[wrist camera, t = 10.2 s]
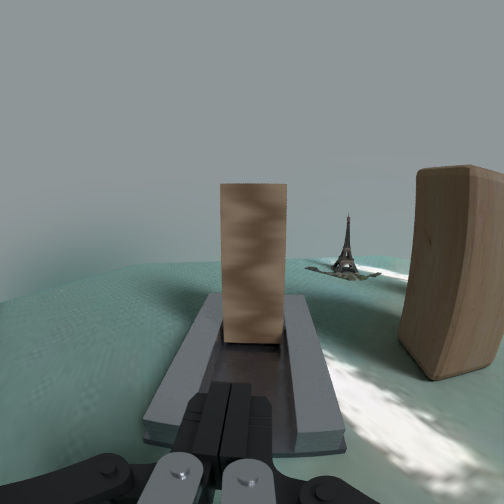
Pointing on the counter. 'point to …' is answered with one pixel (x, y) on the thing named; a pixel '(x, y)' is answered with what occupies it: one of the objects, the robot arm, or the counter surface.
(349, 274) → the eiffel tower figurine
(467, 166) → the wooden block
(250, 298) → the block
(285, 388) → the chute
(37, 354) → the counter surface
